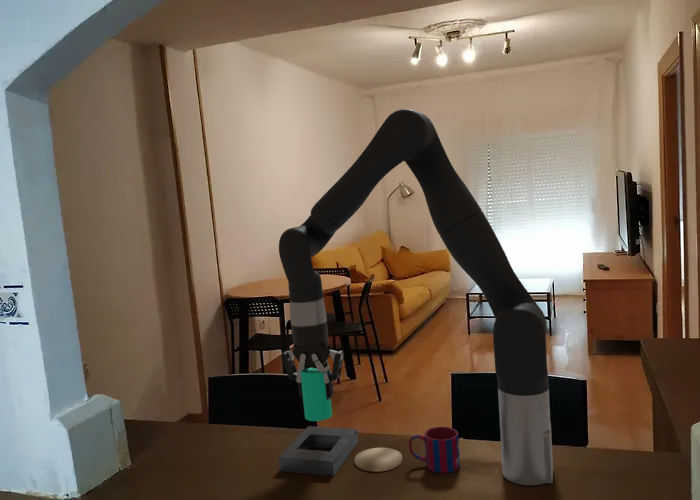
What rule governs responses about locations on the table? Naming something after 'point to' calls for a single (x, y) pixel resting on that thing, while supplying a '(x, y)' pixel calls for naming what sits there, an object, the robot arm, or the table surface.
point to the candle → (315, 395)
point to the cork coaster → (378, 459)
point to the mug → (440, 449)
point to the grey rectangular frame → (319, 461)
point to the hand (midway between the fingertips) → (316, 398)
